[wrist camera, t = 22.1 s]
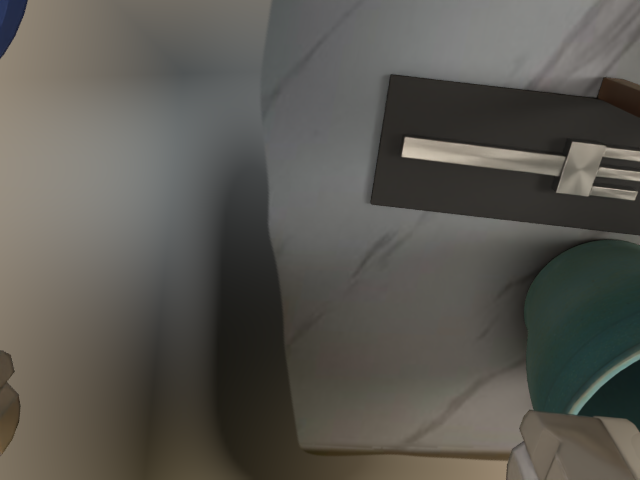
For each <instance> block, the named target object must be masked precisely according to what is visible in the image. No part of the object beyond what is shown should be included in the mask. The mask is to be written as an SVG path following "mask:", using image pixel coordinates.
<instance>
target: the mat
mask: <svg viewBox="0 0 640 480" xmlns="http://www.w3.org/2000/svg"><path fill="white" fill-rule="evenodd" d="M404 134H407V135H415V136H424V137H432V138H440V139H448V140H456V141H464V142H472V143H480V144H488V145H496V146H504V147H512V148H520V149H528V150H536V151H545V152H553V153H561V154H563V151H564V148H565V145H566V142H567V139H568V138H572V139H580V140H588V141H596V142H601V143H603V144H608V145H616V146H624V147H633V148H640V118H639V117H636V116H634V115H632V114H630V113H628V112H626V111H624V110H622V109H619V108H617V107H615V106H613V105H611V104H609V103H607V102H605V101H602V100H600V99H598V98H589V97H581V96H572V95H563V94H555V93H546V92H538V91H529V90H520V89H512V88H503V87H495V86H486V85H477V84H469V83H460V82H452V81H443V80H434V79H426V78H417V77H409V76H400V75H391V76H390V82H389V89H388V95H387V101H386V108H385V114H384V120H383V127H382V133H381V139H380V146H379V152H378V159H377V165H376V171H375V178H374V184H373V190H372V197H371V204H372V205H381V206H390V207H399V208H407V209H416V210H425V211H433V212H442V213H451V214H460V215H468V216H477V217H486V218H494V219H503V220H512V221H521V222H529V223H538V224H547V225H555V226H564V227H573V228H582V229H590V230H599V231H608V232H616V233H625V234H634V235H640V182H635V181H627V180H619V179H611V178H603V177H596V176H595V179H594V182H593V183H602V184H610V185H618V186H626V187H632V188H634V189H635V190H636V191H638V193H637V196H636V198H635V200H634V201H630V200H622V199H614V198H606V197H598V196H590V195H589V196H588V197H586V196H578V195H570V194H562V193H556V192H555V191H554V190H553V189H552V186H553V182H554V179H555V176H549V175H541V174H533V173H525V172H517V171H509V170H501V169H493V168H485V167H476V166H468V165H460V164H452V163H444V162H436V161H428V160H420V159H412V158H404V157H401V155H400V151H401V146H402V141H403V135H404ZM600 164H606V165H614V166H622V167H630V168H638V169H640V162H636V161H628V160H620V159H612V158H604V157H602V159H601V162H600Z"/></svg>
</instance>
